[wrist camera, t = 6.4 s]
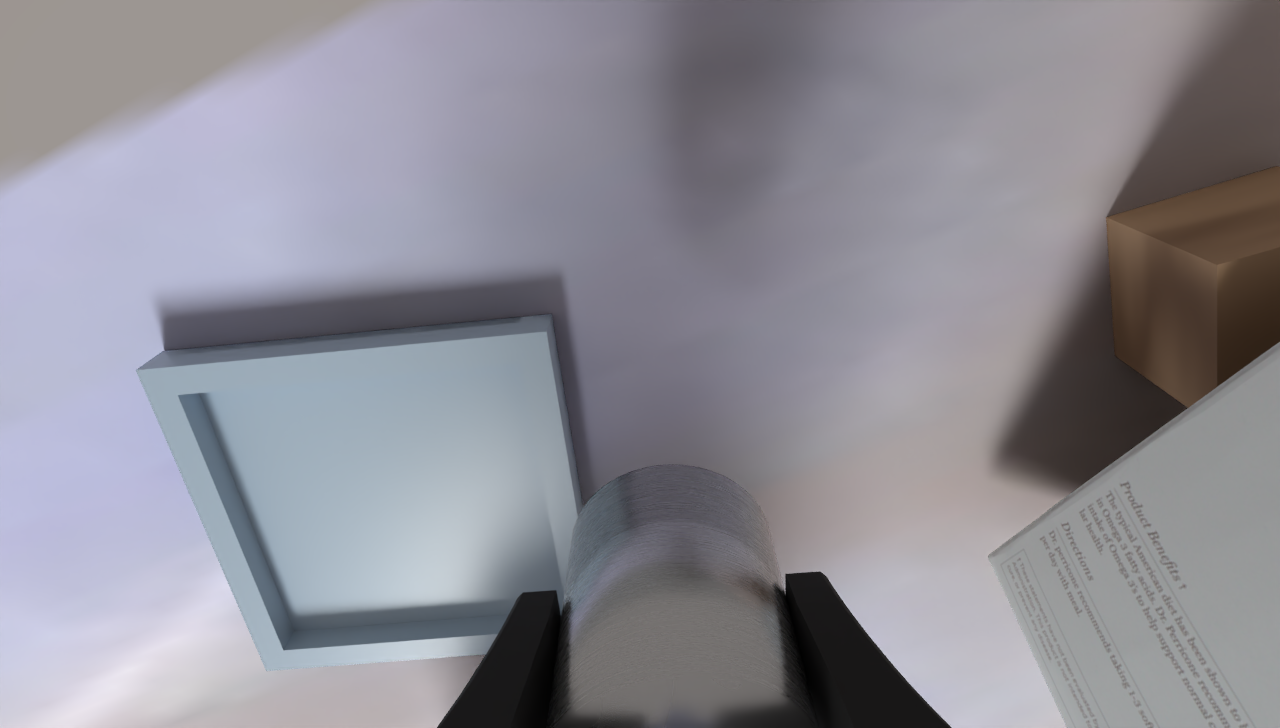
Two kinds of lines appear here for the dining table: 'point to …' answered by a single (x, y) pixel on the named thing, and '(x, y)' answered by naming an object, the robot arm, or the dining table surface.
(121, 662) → the dining table surface
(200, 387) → the tray
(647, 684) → the silver cylindrical canister
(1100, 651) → the supplement box
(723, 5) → the dining table surface
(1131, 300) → the walnut block
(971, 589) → the dining table surface
